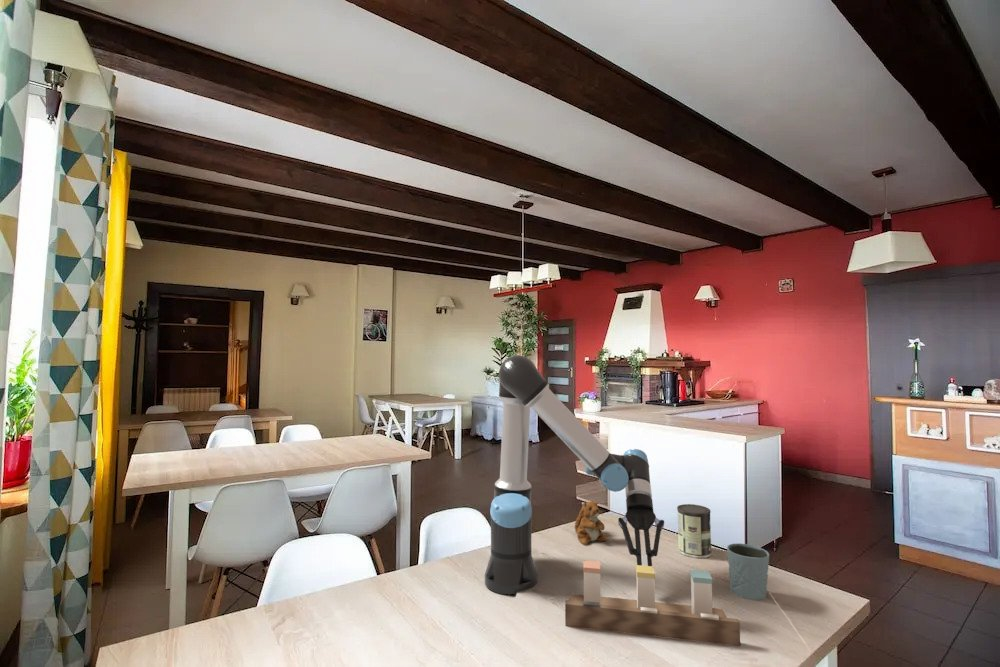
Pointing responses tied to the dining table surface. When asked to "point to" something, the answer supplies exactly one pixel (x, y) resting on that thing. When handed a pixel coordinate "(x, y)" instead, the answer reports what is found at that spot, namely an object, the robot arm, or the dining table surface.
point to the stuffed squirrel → (589, 523)
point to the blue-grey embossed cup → (748, 570)
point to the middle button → (645, 586)
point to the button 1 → (591, 581)
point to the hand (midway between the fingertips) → (645, 581)
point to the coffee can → (694, 530)
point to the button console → (652, 620)
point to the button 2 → (701, 592)
